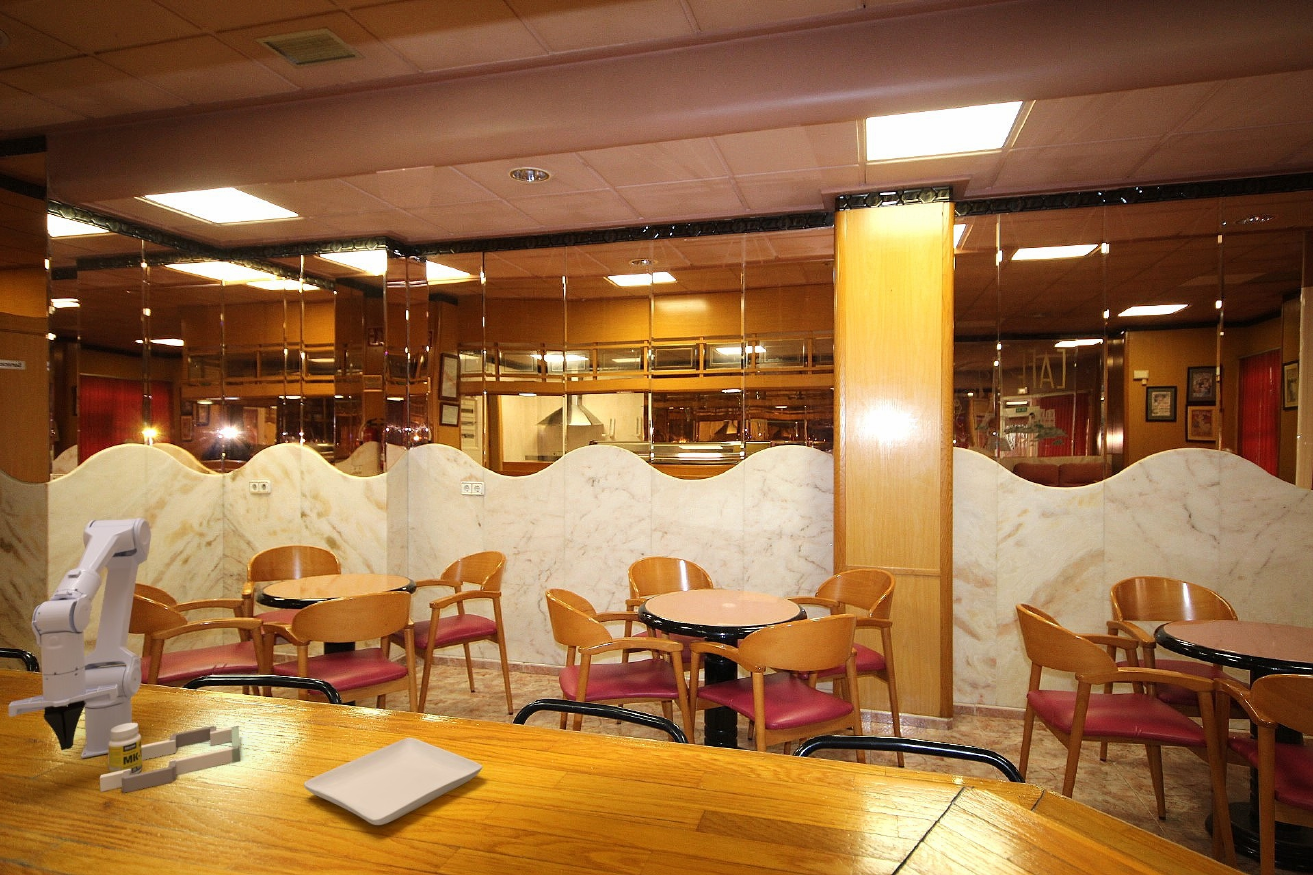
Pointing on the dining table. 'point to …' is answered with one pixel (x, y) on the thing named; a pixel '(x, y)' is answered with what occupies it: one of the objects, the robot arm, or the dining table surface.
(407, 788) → the salad plate
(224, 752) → the beige piece
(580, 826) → the dining table surface
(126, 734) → the supplement bottle
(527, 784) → the dining table surface
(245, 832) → the dining table surface
